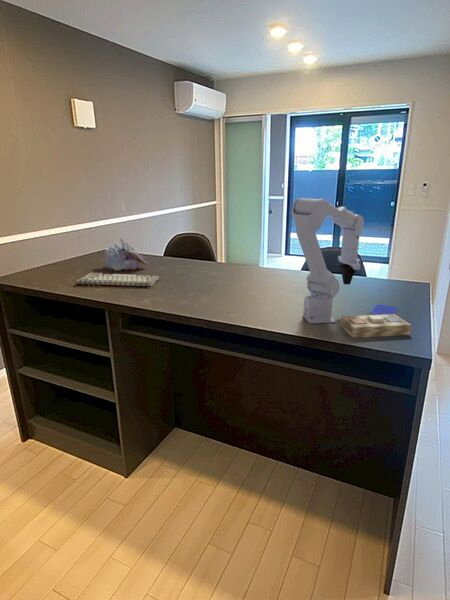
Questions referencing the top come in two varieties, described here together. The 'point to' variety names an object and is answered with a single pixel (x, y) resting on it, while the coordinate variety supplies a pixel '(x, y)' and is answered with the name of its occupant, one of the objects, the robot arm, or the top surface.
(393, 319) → the slate key
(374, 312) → the hard drive
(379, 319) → the white key
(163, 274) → the top surface
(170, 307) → the top surface
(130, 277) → the mechanical keyboard
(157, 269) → the top surface
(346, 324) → the key panel
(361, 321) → the terracotta key
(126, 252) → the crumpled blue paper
